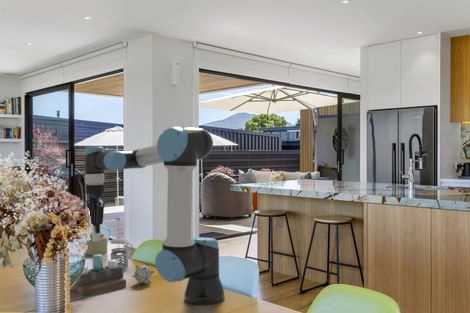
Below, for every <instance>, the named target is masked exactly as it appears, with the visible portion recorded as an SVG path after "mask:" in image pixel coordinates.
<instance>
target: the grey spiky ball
mask: <svg viewBox="0 0 470 313" xmlns="http://www.w3.org/2000/svg"><path fill="white" fill-rule="evenodd" d="M135 267H136V268H135V271H134V273H133V275H132V276H131V277H132V278H134V279H135V280H136V281H137V282H138V286H140V285H141V284H145V283H149V284H151V279H152V275H153V274H154V273H155V271H152V270H151V268H150V267H149V266H148V263H146V264H145V265H140V266H139V265H135Z"/></svg>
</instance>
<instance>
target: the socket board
mask: <svg viewBox="0 0 470 313" xmlns="http://www.w3.org/2000/svg"><path fill="white" fill-rule="evenodd" d="M126 287H127V279H125V278H124V272H123V267H122V266H119V265H117V268H113V269H108V265H105V266H103V270H101V271H93V268H88V274H83V275H81V276H80V278H79V279H78V280H77V282H76V283H75V284H74V285H73V286H72V287H71V286H70V290H72V291H74V292H75V291H76V293H77V292H78V293H77V294H79V295H81V296H83V297H88V296H93V295H98V294H101V293H105V292H109V291H115V290H118V289H122V288H126Z"/></svg>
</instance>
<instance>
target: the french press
mask: <svg viewBox="0 0 470 313" xmlns="http://www.w3.org/2000/svg"><path fill="white" fill-rule="evenodd" d="M115 221H121V218H120V217H116V219H115ZM119 229H120V228H119V223H117V230H118V231H117V233H118V236H117V237H116V238H112V239H111V240H110V241H109V242H110V244H112V245H113V244H114V245H117V244H118V245H120V244H125V246H126V247H128V246H129V245H130V246H131V254H130V255H129V256H128V252H127V248H126V247H116V248H115V247H114V248H112V249H111V250H110V251H111V253H110V260H117V265H119V266H122V267H123V273H124V272H125V273H126V272H128V271H130V270H129V269H130V267H129V259H131V257H132V256H133V255H134V247H133V245H132V244H131V243H129V242H128V239H126V238H124V237H120V235H119V234H120V232H119V231H120V230H119Z"/></svg>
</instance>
